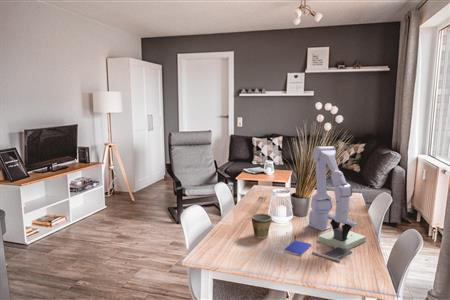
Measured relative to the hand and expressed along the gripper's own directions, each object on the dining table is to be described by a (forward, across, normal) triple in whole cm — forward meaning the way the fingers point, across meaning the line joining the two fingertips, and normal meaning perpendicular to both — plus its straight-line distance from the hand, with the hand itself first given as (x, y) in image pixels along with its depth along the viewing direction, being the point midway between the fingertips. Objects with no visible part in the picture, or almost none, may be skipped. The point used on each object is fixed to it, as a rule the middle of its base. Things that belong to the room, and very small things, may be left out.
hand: (340, 237), depth 153 cm
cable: (+3, +5, -18) cm, 19 cm away
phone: (+3, +6, -10) cm, 12 cm away
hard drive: (+4, -8, -21) cm, 23 cm away
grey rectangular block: (+2, 0, 0) cm, 2 cm away
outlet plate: (+3, -1, +3) cm, 4 cm away
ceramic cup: (+3, -29, -24) cm, 38 cm away
